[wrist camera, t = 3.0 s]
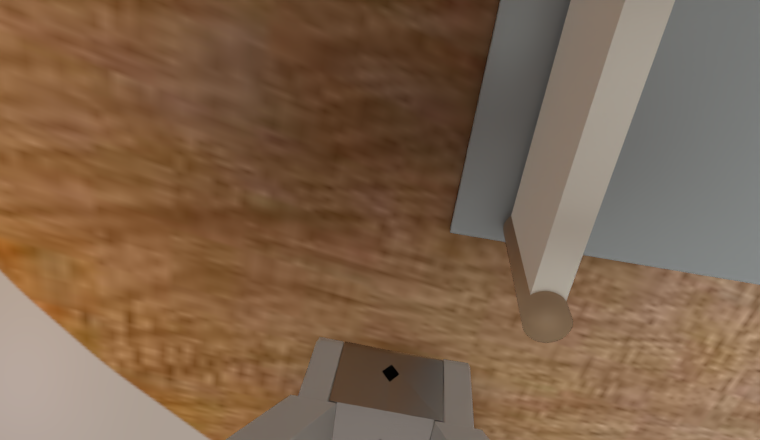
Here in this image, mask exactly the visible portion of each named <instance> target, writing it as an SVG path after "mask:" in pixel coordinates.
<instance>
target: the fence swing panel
mask: <svg viewBox="0 0 760 440" xmlns="http://www.w3.org/2000/svg"><path fill="white" fill-rule="evenodd" d="M674 2H675V0H571V1H570V5H569V8H568V12H567V16H566V19H565V23H564V26H563V30H562V34H561V37H560V41H559V45H558V48H557V52H556V55H555V59H554V63H553V66H552V70H551V73H550V77H549V81H548V84H547V88H546V92H545V95H544V99H543V102H542V106H541V110H540V113H539V117H538V120H537V124H536V128H535V131H534V135H533V139H532V142H531V146H530V149H529V153H528V157H527V160H526V164H525V167H524V171H523V175H522V178H521V182H520V186H519V189H518V193H517V196H516V200H515V204H514V207H513V211H512V214H511V216H510V217H509V218H508V219H507V220H506V222H505V223H504V227H503V232H504V237H505V242H506V247H507V252H508V257H509V262H510V267H511V272H512V277H513V282H514V287H515V292H516V297H517V301H518V306H519V311H520V316H521V321H522V326H523V330H524V332H525V333H526V335H527V336H528V337H530V338H531V339H533V340H535V341H538V342H543V343H550V342H555V341H558V340H560V339H562V338H564V337H565V336H566V335H567V334H568V333H569V332H570V330H571V328H572V325H573V319H572V316H571V313H570V310H569V307H568V304H567V301H566V300H567V297H568V295H569V292H570V289H571V286H572V284H573V281H574V278H575V275H576V273H577V270H578V267H579V264H580V262H581V259H582V256H583V253H584V251H585V248H586V245H587V242H588V239H589V237H590V234H591V231H592V228H593V226H594V223H595V220H596V217H597V215H598V212H599V209H600V206H601V204H602V201H603V198H604V195H605V193H606V190H607V187H608V184H609V182H610V179H611V176H612V173H613V171H614V168H615V165H616V162H617V160H618V157H619V154H620V151H621V149H622V146H623V143H624V140H625V138H626V135H627V132H628V129H629V126H630V124H631V121H632V118H633V115H634V113H635V110H636V107H637V104H638V102H639V99H640V96H641V93H642V91H643V88H644V85H645V82H646V80H647V77H648V74H649V71H650V69H651V66H652V63H653V60H654V58H655V55H656V52H657V49H658V47H659V44H660V41H661V38H662V36H663V33H664V30H665V27H666V25H667V22H668V19H669V16H670V13H671V11H672V8H673V5H674Z"/></svg>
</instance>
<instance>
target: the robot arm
mask: <svg viewBox="0 0 760 440" xmlns="http://www.w3.org/2000/svg"><path fill="white" fill-rule="evenodd" d="M226 440H489V438H488V437H487V436H486V434H485V433H484V432H483V431H482V430H480V429H475V428H474V419H473V404H472V388H471V373H470V366H469V364H468V363H464V362H458V361H451V360H445V359H443V360H441V359H435V358H430V357H424V356H418V355H412V354H406V353H400V352H395V351H390V350H385V349H380V348H375V347H370V346H365V345H360V344H355V343H350V342H345V343H344V342H343V341H338V340H333V339H328V338H323V337H320V338H319V339H318V340H317V342H316V345H315V348H314V351H313V354H312V357H311V359H310V362H309V365H308V368H307V371H306V374H305V377H304V380H303V383H302V386H301V389H300V392H299V395H298V396H295V395H290V396H288V397H287V398H285V399H284V400H282V401H281V402H279V403H278V404H276V405H275V406H274V407H272V408H271V409H269V410H268V411H266V412H265V413H263V414H262V415H261V416H259V417H258V418H256V419H255V420H253V421H252V422H250V423H249V424H248V425H246V426H245V427H243V428H242V429H240V430H239V431H237V432H236V433H234V434H233V435H232V436H230V437H229V438H227V439H226Z"/></svg>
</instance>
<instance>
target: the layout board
mask: <svg viewBox="0 0 760 440" xmlns="http://www.w3.org/2000/svg"><path fill="white" fill-rule="evenodd" d="M570 1H571V0H500V2H499V6H498V11H497V16H496V20H495V25H494V29H493V34H492V38H491V43H490V48H489V52H488V57H487V61H486V66H485V71H484V75H483V80H482V84H481V89H480V94H479V98H478V103H477V107H476V112H475V116H474V121H473V126H472V130H471V135H470V139H469V144H468V149H467V153H466V158H465V162H464V167H463V171H462V176H461V181H460V185H459V190H458V194H457V199H456V204H455V208H454V213H453V217H452V222H451V226H450V233H455V234H461V235H467V236H473V237H479V238H485V239H491V240H497V241H503V242H505V237H504V232H503V227H504V223H505V222H506V220H507V219H508V218H509V217H510V216H511V214H512V211H513V207H514V204H515V200H516V196H517V193H518V189H519V186H520V182H521V178H522V175H523V171H524V167H525V164H526V160H527V157H528V153H529V149H530V146H531V142H532V139H533V135H534V131H535V128H536V124H537V120H538V117H539V113H540V110H541V106H542V102H543V99H544V95H545V92H546V88H547V84H548V81H549V77H550V73H551V70H552V66H553V63H554V59H555V55H556V52H557V48H558V45H559V41H560V37H561V34H562V30H563V26H564V23H565V19H566V16H567V12H568V8H569V5H570ZM583 255H586V256H592V257H598V258H604V259H610V260H616V261H622V262H628V263H634V264H640V265H645V266H651V267H657V268H663V269H669V270H675V271H681V272H687V273H693V274H699V275H705V276H711V277H717V278H723V279H729V280H735V281H741V282H746V283H752V284H758V285H760V0H675V2H674V5H673V8H672V11H671V13H670V16H669V19H668V22H667V25H666V27H665V30H664V33H663V36H662V38H661V41H660V44H659V47H658V49H657V52H656V55H655V58H654V60H653V63H652V66H651V69H650V71H649V74H648V77H647V80H646V82H645V85H644V88H643V91H642V93H641V96H640V99H639V102H638V104H637V107H636V110H635V113H634V115H633V118H632V121H631V124H630V126H629V129H628V132H627V135H626V138H625V140H624V143H623V146H622V149H621V151H620V154H619V157H618V160H617V162H616V165H615V168H614V171H613V173H612V176H611V179H610V182H609V184H608V187H607V190H606V193H605V195H604V198H603V201H602V204H601V206H600V209H599V212H598V215H597V217H596V220H595V223H594V226H593V228H592V231H591V234H590V237H589V239H588V242H587V245H586V248H585V251H584V253H583Z"/></svg>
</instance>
